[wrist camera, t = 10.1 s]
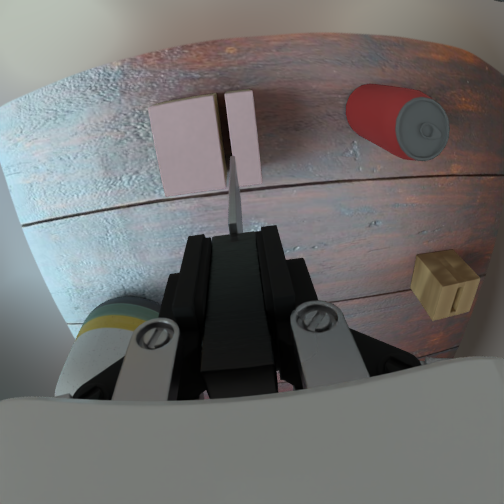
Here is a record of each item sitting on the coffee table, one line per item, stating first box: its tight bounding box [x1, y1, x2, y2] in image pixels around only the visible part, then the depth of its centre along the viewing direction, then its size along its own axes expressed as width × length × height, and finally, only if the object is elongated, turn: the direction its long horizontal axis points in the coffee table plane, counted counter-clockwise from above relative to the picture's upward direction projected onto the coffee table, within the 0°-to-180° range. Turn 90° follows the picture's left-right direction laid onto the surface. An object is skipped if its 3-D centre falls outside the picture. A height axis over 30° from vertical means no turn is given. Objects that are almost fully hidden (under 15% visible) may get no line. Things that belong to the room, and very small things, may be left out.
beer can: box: [346, 84, 450, 161], centre depth 27 cm, size 7×7×12 cm
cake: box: [148, 93, 227, 197], centre depth 31 cm, size 6×9×6 cm, turn 6°
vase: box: [55, 296, 161, 396], centre depth 37 cm, size 17×17×24 cm
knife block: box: [410, 249, 480, 321], centre depth 41 cm, size 7×6×8 cm
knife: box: [199, 156, 278, 399], centre depth 14 cm, size 2×3×16 cm, turn 6°
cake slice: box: [225, 89, 263, 186], centre depth 31 cm, size 2×9×6 cm, turn 6°
